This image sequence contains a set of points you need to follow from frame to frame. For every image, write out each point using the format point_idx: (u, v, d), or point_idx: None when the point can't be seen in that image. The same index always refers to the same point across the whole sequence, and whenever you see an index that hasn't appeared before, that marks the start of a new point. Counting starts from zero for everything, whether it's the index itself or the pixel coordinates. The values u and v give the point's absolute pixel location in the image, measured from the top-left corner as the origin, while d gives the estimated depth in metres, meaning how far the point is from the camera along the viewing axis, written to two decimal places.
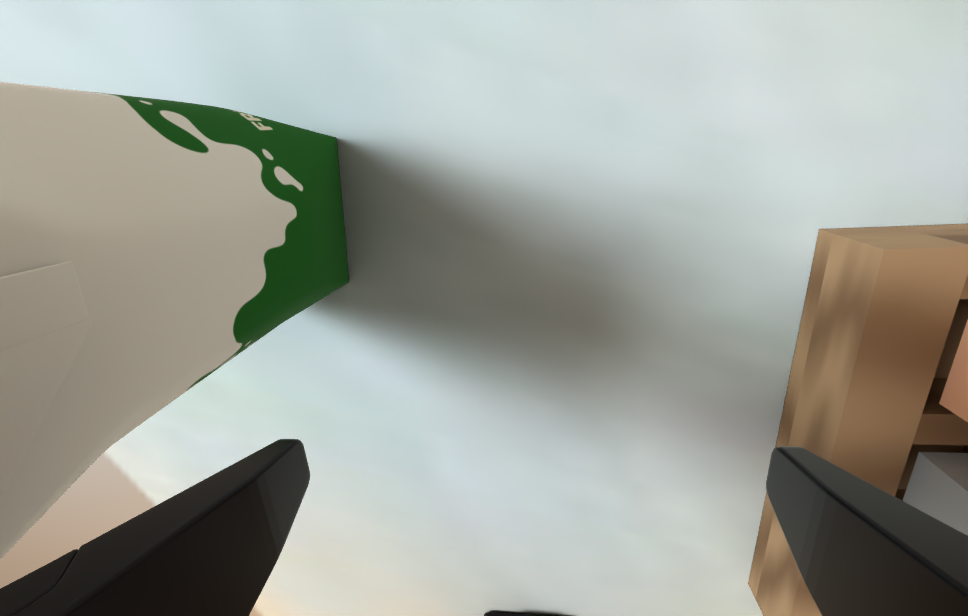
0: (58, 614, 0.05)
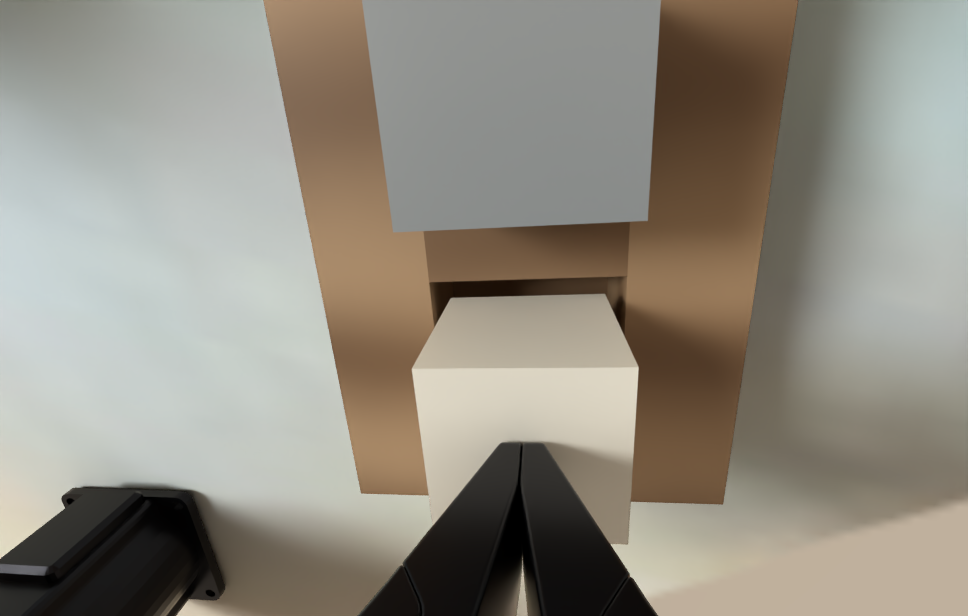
0: None
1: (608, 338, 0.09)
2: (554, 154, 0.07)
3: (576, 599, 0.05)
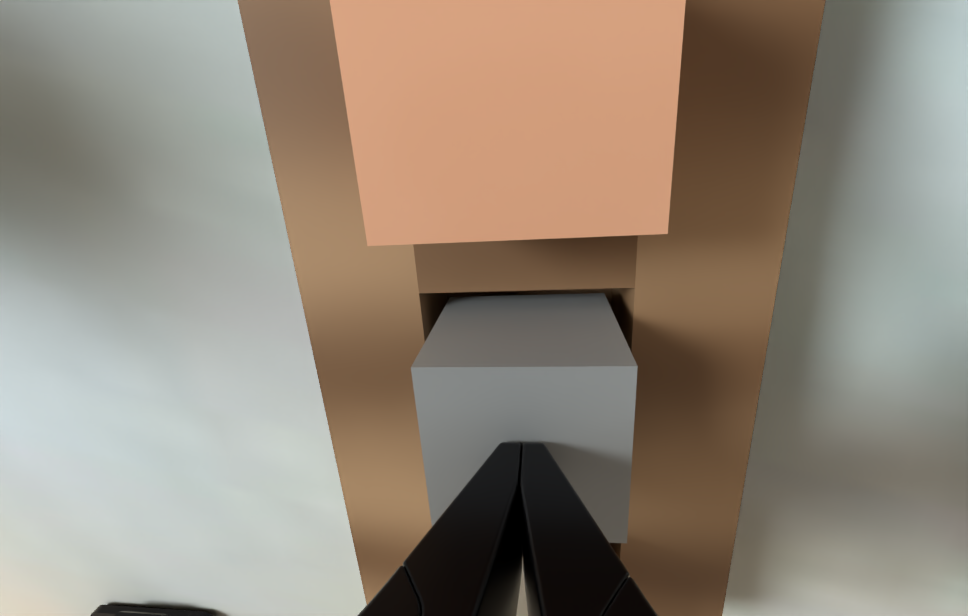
0: None
1: None
2: None
3: (576, 599, 0.05)
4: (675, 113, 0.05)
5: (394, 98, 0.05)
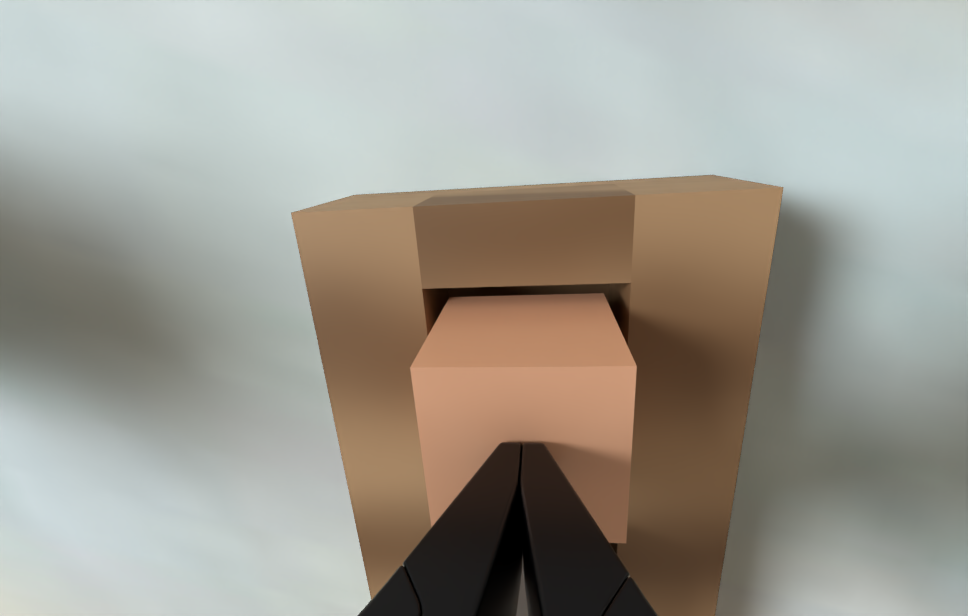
0: None
1: None
2: None
3: (576, 599, 0.05)
4: (628, 484, 0.09)
5: (454, 466, 0.09)
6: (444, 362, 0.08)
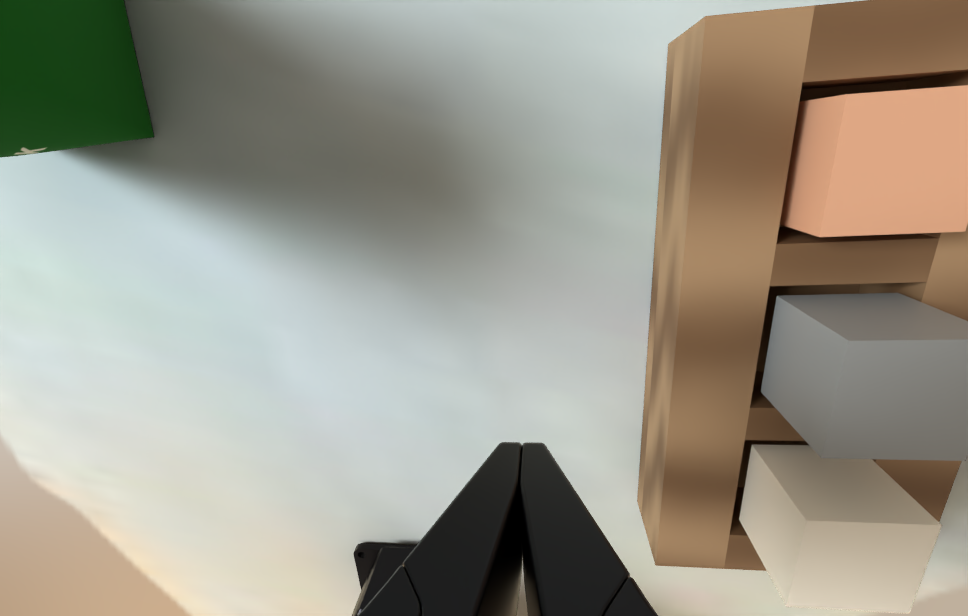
0: None
1: (901, 497, 0.15)
2: (923, 431, 0.13)
3: (576, 599, 0.05)
4: None
5: (854, 174, 0.13)
6: (866, 93, 0.12)
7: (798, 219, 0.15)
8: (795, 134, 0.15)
